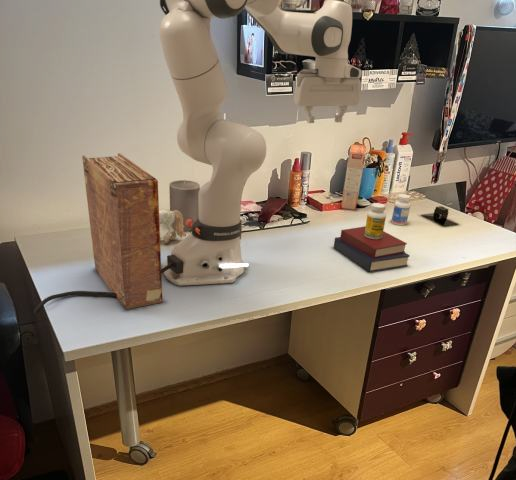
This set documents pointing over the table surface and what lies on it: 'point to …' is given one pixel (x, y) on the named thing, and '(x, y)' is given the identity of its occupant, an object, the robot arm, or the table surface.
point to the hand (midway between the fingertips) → (324, 122)
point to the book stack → (371, 250)
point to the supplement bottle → (375, 221)
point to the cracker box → (353, 176)
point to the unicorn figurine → (168, 219)
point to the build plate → (440, 217)
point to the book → (125, 228)
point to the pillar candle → (184, 200)
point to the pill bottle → (401, 210)
